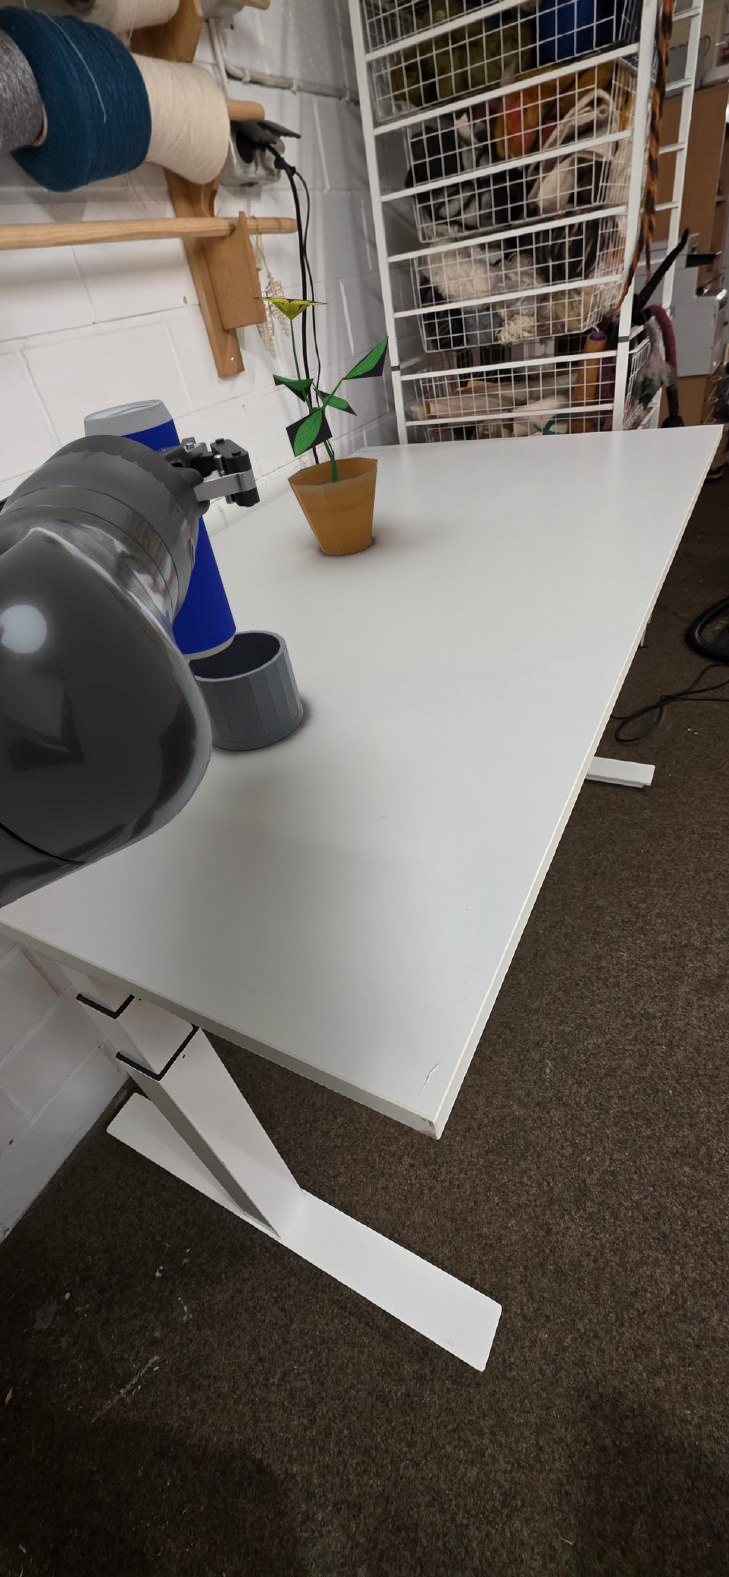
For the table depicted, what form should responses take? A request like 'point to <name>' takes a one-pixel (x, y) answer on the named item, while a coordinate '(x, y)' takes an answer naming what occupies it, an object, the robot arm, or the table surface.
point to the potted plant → (331, 457)
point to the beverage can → (206, 606)
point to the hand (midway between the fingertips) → (149, 465)
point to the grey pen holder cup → (249, 691)
